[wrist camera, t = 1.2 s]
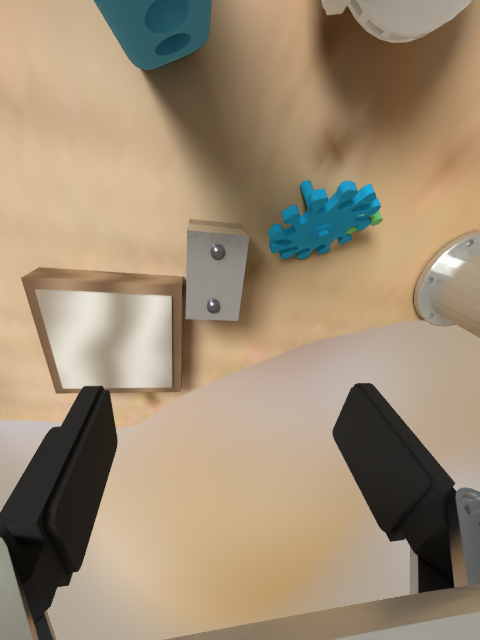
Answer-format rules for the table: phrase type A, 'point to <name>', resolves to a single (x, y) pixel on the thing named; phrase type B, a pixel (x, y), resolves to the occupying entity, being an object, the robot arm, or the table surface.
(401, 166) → the table surface
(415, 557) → the robot arm
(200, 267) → the block
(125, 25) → the block
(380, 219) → the gear
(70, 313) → the stand
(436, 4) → the mechanical part
